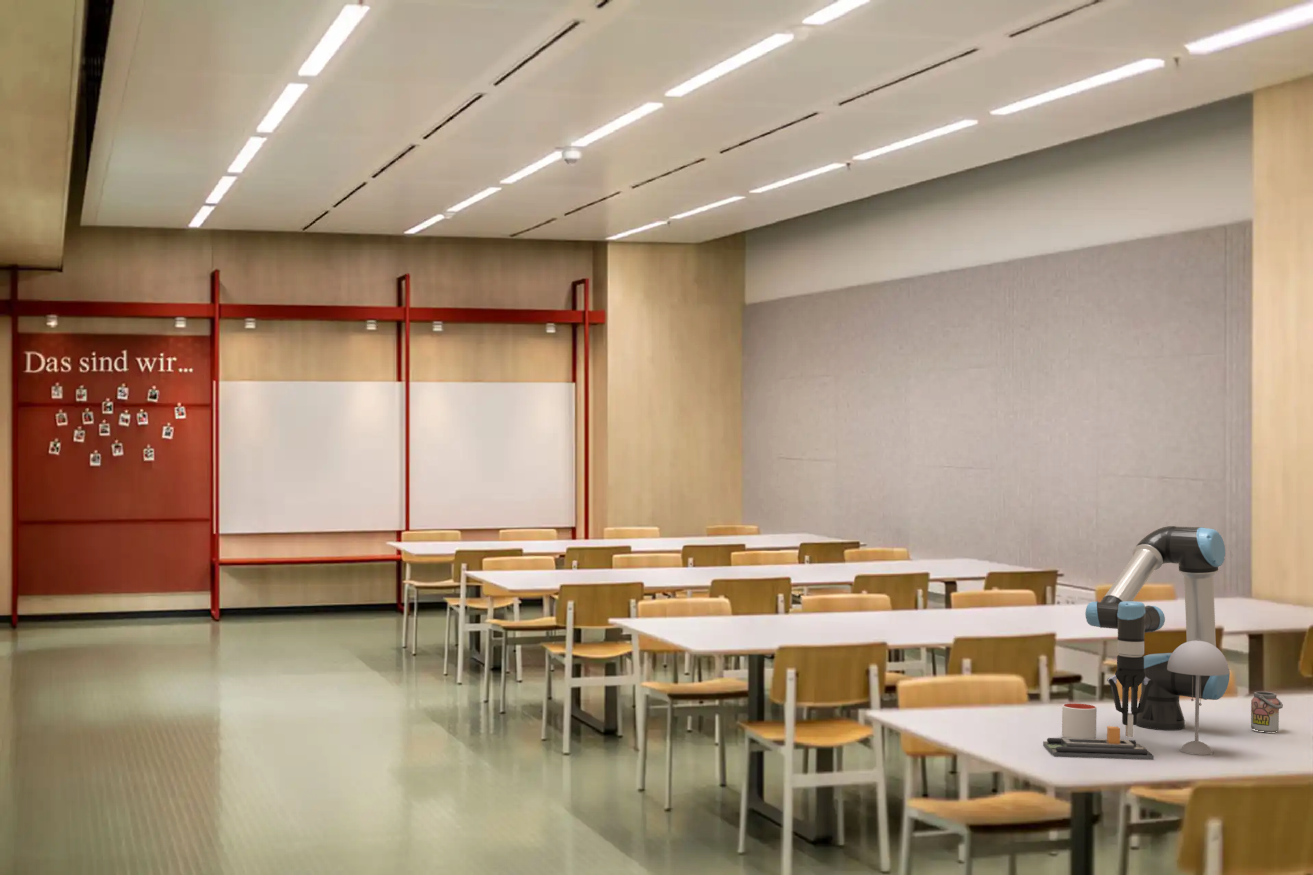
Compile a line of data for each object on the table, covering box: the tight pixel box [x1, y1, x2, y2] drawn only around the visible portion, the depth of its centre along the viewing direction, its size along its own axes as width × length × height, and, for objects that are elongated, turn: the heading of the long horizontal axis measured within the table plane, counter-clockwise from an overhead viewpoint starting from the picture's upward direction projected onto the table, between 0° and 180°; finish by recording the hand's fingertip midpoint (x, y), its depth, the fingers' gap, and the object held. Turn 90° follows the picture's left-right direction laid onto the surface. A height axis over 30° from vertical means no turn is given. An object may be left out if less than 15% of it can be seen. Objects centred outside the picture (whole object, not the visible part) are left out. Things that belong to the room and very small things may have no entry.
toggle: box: [1105, 725, 1121, 744], centre depth 435 cm, size 4×3×6 cm
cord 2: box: [1056, 747, 1149, 754], centre depth 428 cm, size 26×1×1 cm, turn 86°
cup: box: [1061, 702, 1098, 739], centre depth 455 cm, size 10×10×10 cm
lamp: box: [1167, 639, 1230, 756], centre depth 439 cm, size 17×17×33 cm
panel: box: [1042, 737, 1155, 761], centre depth 435 cm, size 28×16×3 cm, turn 86°
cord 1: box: [1046, 737, 1137, 745], centre depth 441 cm, size 26×1×1 cm, turn 86°
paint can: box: [1250, 691, 1284, 733], centre depth 473 cm, size 9×8×12 cm
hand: (1129, 736), depth 434 cm, fingers closed
